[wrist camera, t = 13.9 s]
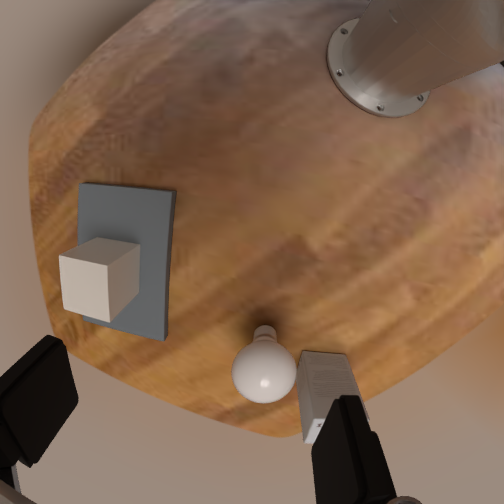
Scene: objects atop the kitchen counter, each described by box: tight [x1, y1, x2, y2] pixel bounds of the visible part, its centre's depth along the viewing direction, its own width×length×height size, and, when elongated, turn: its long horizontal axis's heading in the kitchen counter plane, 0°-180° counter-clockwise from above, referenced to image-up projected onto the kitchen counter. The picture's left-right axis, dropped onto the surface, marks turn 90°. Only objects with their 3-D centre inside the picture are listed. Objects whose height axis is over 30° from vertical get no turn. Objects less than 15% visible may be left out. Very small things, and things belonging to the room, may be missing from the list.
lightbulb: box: [231, 325, 297, 403], centre depth 30 cm, size 6×6×11 cm
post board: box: [78, 183, 176, 341], centre depth 30 cm, size 18×12×8 cm, turn 172°
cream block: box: [59, 237, 140, 323], centre depth 28 cm, size 6×6×8 cm
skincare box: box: [296, 351, 370, 443], centre depth 30 cm, size 6×4×12 cm
